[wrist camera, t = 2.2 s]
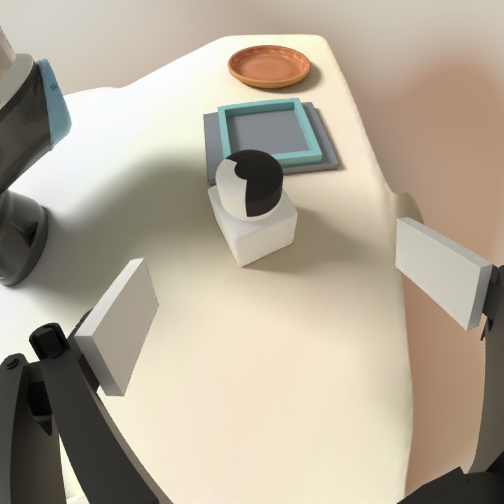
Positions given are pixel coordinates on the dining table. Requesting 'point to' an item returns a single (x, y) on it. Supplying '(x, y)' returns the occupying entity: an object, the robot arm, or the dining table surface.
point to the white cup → (78, 499)
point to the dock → (269, 135)
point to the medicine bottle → (252, 205)
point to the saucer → (269, 66)
